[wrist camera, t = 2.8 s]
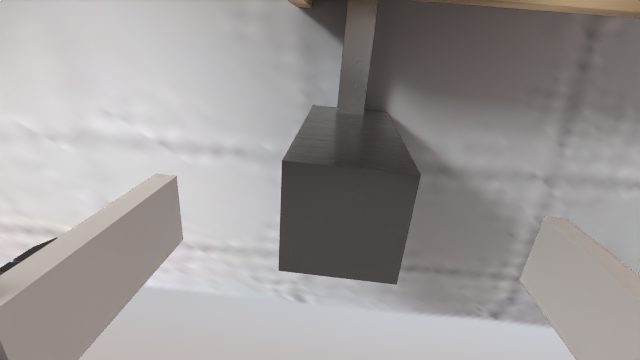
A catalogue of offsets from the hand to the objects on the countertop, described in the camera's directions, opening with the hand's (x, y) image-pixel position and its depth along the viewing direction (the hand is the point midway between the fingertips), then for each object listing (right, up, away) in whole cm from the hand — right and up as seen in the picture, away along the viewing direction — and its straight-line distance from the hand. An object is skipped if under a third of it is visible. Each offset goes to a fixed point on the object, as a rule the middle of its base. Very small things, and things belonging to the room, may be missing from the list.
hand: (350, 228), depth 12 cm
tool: (+1, +11, +5) cm, 13 cm away
